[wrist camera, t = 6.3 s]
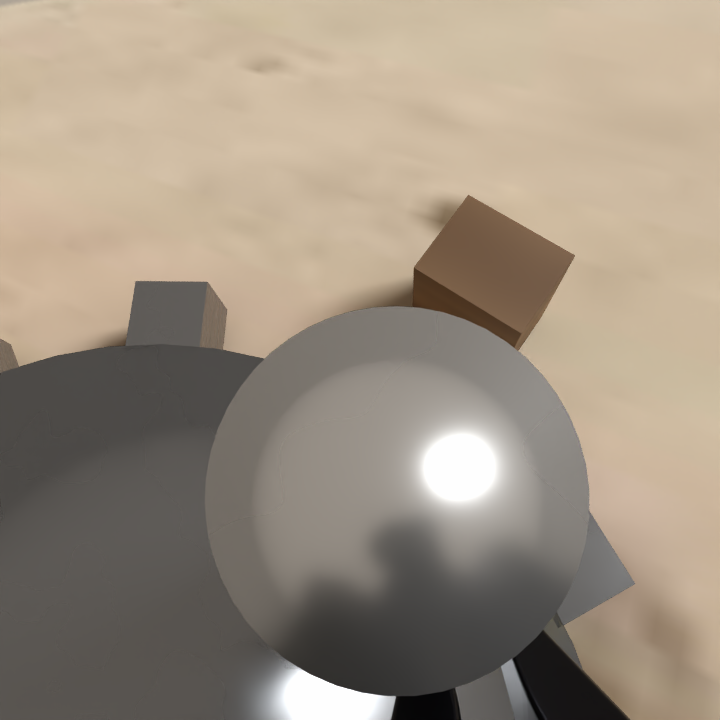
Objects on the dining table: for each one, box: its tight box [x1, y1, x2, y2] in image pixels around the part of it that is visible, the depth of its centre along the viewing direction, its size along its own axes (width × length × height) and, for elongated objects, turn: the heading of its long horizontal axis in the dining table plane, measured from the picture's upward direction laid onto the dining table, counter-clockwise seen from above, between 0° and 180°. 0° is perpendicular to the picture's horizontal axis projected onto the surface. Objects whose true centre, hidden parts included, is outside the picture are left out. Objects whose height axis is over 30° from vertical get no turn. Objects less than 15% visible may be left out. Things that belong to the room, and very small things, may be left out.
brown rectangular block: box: [413, 195, 575, 351], centre depth 17 cm, size 2×3×4 cm
